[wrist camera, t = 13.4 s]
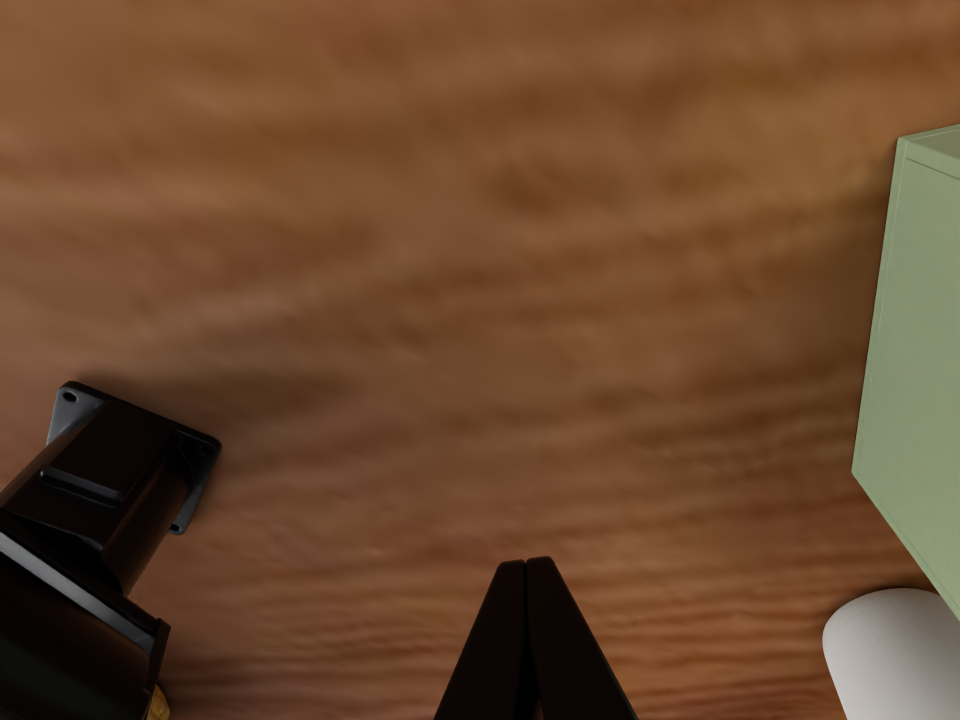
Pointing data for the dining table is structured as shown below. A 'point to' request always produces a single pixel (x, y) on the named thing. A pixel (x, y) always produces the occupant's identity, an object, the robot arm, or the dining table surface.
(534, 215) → the dining table surface
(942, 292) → the carton
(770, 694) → the dining table surface
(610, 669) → the robot arm
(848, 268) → the dining table surface
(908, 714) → the cup
